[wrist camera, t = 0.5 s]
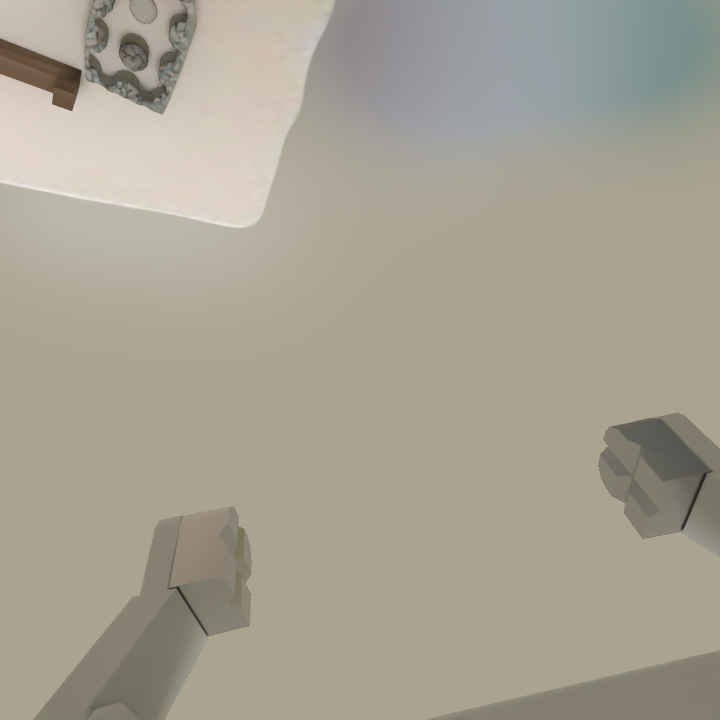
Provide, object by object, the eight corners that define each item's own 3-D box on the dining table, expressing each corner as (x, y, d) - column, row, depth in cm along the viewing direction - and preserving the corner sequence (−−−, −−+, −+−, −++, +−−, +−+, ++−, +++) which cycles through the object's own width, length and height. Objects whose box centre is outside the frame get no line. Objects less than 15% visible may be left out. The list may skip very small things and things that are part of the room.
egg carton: (110, -67, 39) (105, -54, 37) (203, -8, 43) (204, 7, 41) (79, 63, 45) (73, 81, 43) (164, 103, 49) (163, 122, 47)
